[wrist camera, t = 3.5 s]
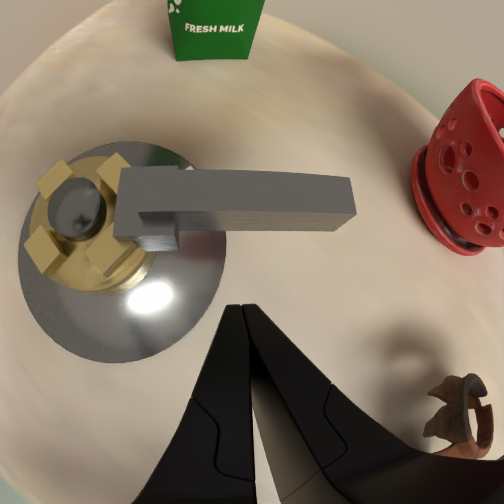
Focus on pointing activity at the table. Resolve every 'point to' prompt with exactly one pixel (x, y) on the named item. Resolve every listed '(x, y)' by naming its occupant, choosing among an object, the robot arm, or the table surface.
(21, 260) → the spindle flange
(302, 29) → the table surface
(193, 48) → the milk carton
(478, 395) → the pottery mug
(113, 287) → the lever valve handle
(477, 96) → the plant pot
